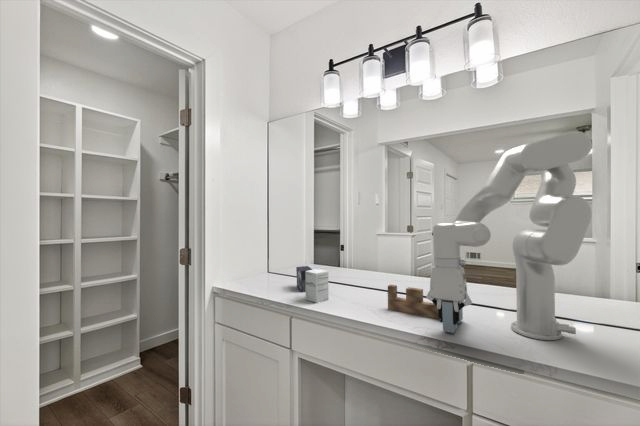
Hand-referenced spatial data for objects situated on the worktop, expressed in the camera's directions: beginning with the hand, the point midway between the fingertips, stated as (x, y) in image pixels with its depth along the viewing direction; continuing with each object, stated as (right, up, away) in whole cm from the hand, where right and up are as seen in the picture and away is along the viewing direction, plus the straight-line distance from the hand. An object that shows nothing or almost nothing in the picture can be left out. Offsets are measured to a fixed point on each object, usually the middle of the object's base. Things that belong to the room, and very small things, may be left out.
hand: (449, 321), depth 91 cm
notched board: (-5, -3, +18) cm, 19 cm away
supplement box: (-41, -4, +36) cm, 55 cm away
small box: (-48, -4, +54) cm, 72 cm away
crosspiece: (+3, -3, +4) cm, 6 cm away
